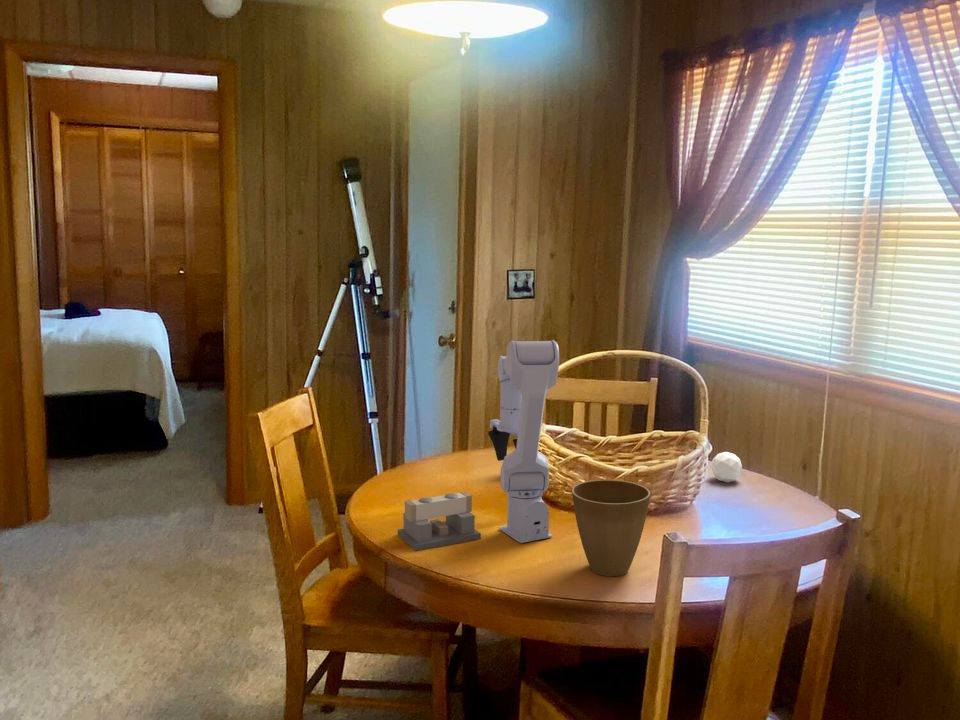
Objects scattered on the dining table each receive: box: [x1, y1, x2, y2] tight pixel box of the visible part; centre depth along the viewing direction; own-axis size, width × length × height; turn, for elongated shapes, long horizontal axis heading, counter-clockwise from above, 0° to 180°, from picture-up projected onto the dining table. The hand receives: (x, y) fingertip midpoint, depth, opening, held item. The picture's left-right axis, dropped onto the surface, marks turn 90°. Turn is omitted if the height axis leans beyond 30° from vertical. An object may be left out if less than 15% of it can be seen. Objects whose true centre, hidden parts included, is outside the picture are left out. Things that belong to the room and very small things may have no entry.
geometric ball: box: [710, 451, 743, 483], centre depth 222 cm, size 8×8×8 cm
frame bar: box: [404, 491, 473, 522], centre depth 182 cm, size 3×14×4 cm, turn 118°
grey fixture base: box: [396, 512, 482, 551], centre depth 182 cm, size 15×10×5 cm, turn 118°
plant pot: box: [571, 479, 651, 577], centre depth 166 cm, size 15×15×16 cm
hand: (511, 463), depth 201 cm, fingers open, 7 cm apart
